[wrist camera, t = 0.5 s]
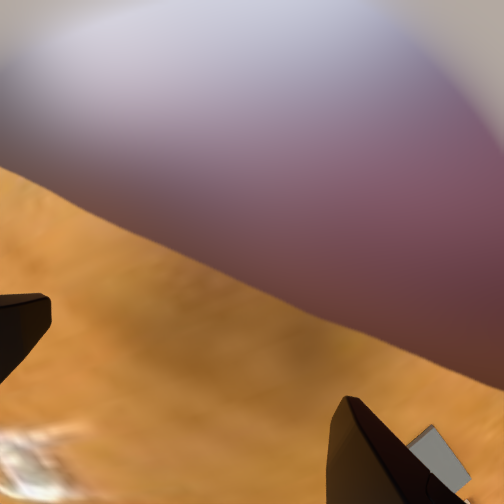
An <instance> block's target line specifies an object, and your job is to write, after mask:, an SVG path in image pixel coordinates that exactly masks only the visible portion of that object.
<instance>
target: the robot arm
mask: <svg viewBox="0 0 504 504" xmlns="http://www.w3.org/2000/svg"><path fill="white" fill-rule="evenodd" d="M51 322H52V317H51V300H50V298H49V297H47V296H45V295H43V294H41V293H29V294H8V295H0V384H1V383H2V382H3V381H4V380H5V379H6V378H7V377H8V376H9V374H10V373H11V372H12V371H13V370H14V369H15V368H16V367H17V366H18V365H19V364H20V363H21V362H22V361H23V360H24V359H25V357H26V356H27V355H28V354H29V353H30V351H31V350H32V349H33V348H34V346H35V345H36V344H37V343H38V341H39V340H40V339H41V338H42V336H43V335H44V334H45V333H46V331H47V330H48V329H49V328H50V326H51ZM430 472H431V471H430V470H429V469H428V468H427V467H426V466H425V465H424V464H423V463H422V462H421V461H420V460H419V459H418V458H417V457H416V456H415V455H414V454H413V453H412V452H411V451H410V450H409V449H408V448H407V447H406V446H405V445H404V444H403V443H402V442H401V441H400V440H399V439H398V438H397V437H396V436H395V435H394V434H393V433H392V432H391V430H390V429H389V428H388V427H387V426H386V425H385V424H384V423H383V422H382V421H381V420H380V419H379V418H378V417H377V416H376V415H375V414H374V413H373V412H372V411H371V410H370V409H369V408H368V407H367V406H366V405H365V404H364V403H363V402H362V401H361V400H360V399H359V398H357V397H352V396H344V397H343V398H342V400H341V402H340V404H339V406H338V408H337V409H336V411H335V413H334V415H333V417H332V420H331V424H330V435H329V445H328V455H327V465H326V504H467V503H465V502H464V501H463V500H462V499H461V498H459V497H458V496H457V495H456V494H455V493H453V492H452V491H451V490H450V489H449V488H448V487H447V486H446V485H445V484H444V483H443V482H441V481H440V480H439V479H438V478H437V477H436V476H435V475H434V474H433V473H430Z"/></svg>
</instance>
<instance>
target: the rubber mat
mask: <svg viewBox="0 0 504 504" xmlns="http://www.w3.org/2000/svg"><path fill="white" fill-rule="evenodd" d="M406 447H407V448H408V449H409V450H410V451H411V452H412V453H413V454H414V455H415V456H416V457H417V458H418V459H419V460H420V461H421V462H422V463H423V464H424V465H425V466H426V467H427V468H428V469H429V470H430V471H431V472H430V473H433V474H434V475H435V476H436V477H437V478H438V479H439V480H440V481H441V482H443V483H444V484H445V485H446V486H447V487H448V488H449V489H450V490H451V491H452V492H453V493H456V492H457V491H458V490H459V489H461V488H462V487H463V486H464V485H465V484H466V483H468V482H469V481H470V480H471V477H470V476H469V474H468V473H467V472H466V470H465V469H464V467H463V466H462V465H461V463H460V462H459V460H458V459H457V458H456V456H455V455H454V454H453V452H452V451H451V449H450V448H449V447H448V445H447V444H446V443H445V441H444V440H443V439H442V437H441V436H440V434H439V433H438V432H437V430H436V429H435V428H434V427H433V426H432V425H430V426H429V427H428V428H427V429H426V430H425V431H424V432H422V433H421V434H420V435H419V436H418V437H417V438H416V439H414V440H413V441H412V442H411V443H410V444H408V445H407V446H406Z"/></svg>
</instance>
